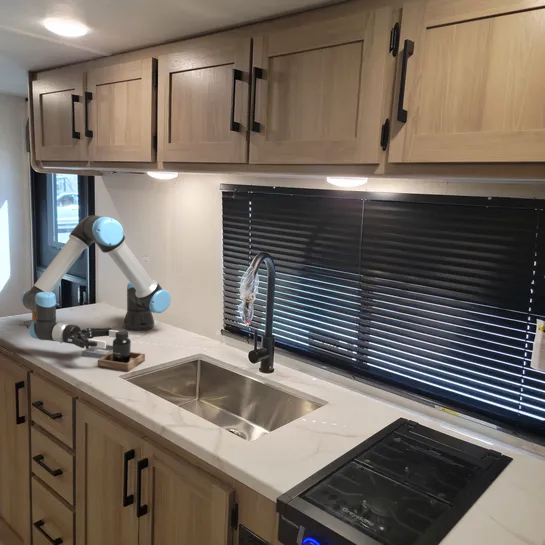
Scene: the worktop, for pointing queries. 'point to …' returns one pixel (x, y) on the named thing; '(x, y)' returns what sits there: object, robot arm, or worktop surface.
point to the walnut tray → (126, 367)
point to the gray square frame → (90, 352)
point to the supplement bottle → (121, 347)
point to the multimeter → (32, 318)
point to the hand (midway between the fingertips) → (115, 339)
